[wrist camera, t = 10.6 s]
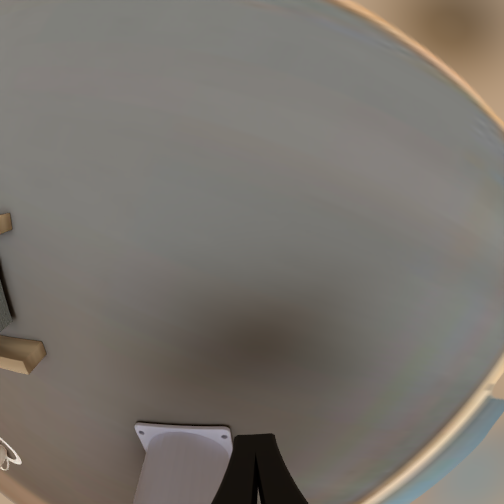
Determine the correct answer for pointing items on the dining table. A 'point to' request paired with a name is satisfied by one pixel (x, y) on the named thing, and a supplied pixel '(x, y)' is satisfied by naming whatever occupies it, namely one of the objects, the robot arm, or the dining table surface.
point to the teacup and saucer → (1, 454)
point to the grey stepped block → (4, 311)
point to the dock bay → (14, 349)
